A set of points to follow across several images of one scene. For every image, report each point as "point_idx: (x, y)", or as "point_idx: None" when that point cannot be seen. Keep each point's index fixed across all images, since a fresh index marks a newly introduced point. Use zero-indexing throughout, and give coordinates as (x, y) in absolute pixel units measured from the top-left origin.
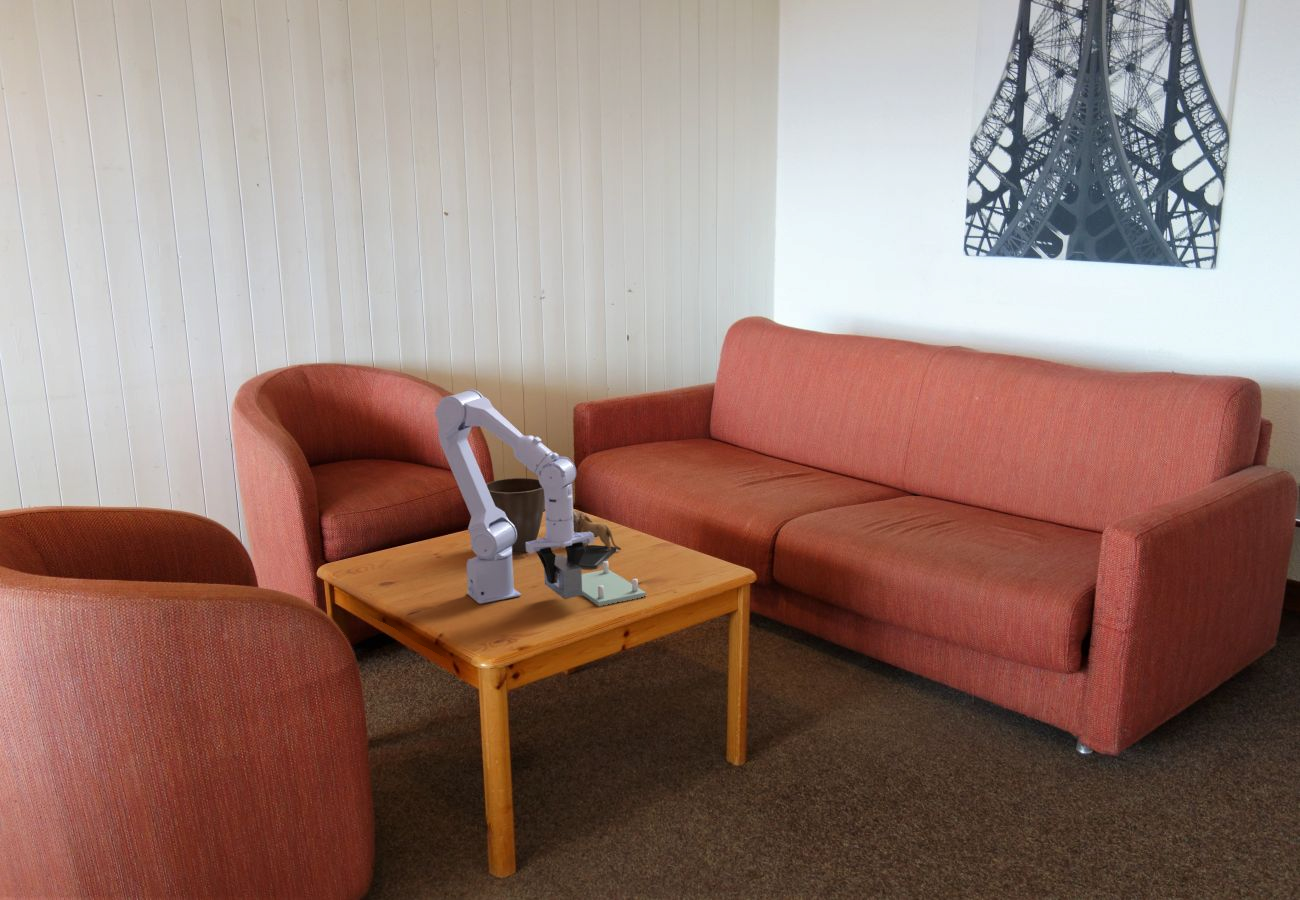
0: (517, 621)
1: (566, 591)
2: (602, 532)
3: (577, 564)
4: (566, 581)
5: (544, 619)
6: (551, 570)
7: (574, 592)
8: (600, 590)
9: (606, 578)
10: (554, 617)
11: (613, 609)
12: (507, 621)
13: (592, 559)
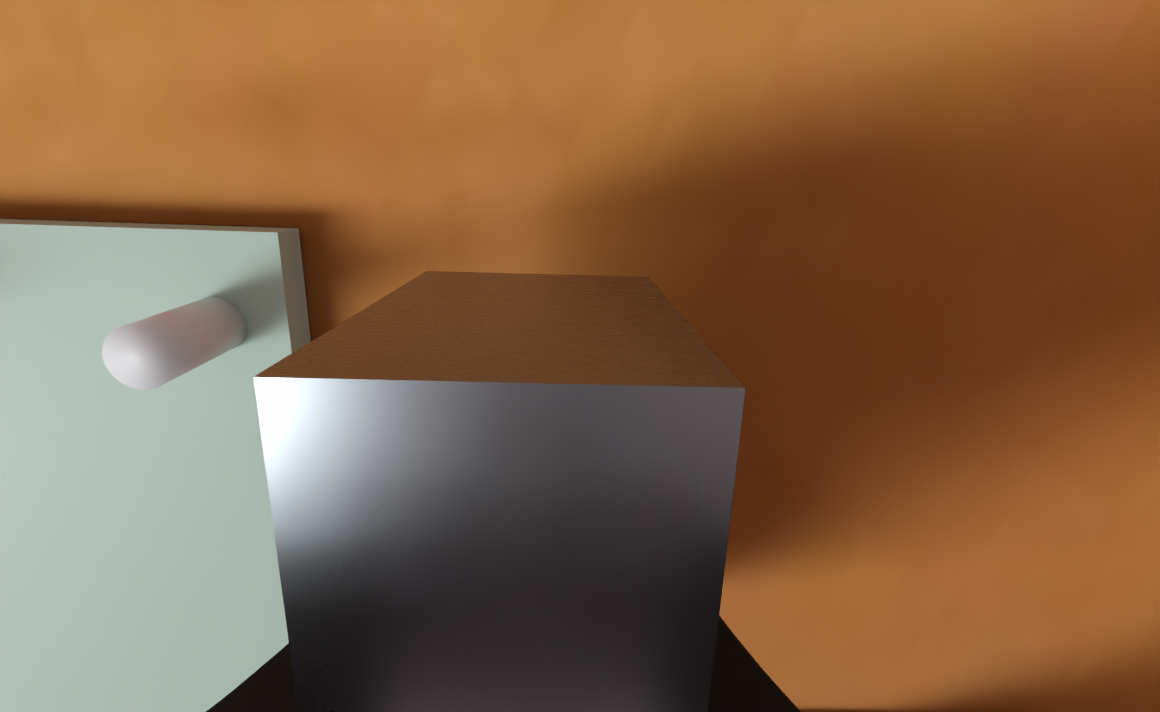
0: (1048, 297)
1: (628, 290)
2: None
3: (242, 700)
4: (637, 324)
5: (852, 212)
6: (754, 688)
7: (516, 284)
8: (176, 321)
9: (36, 693)
10: (758, 207)
11: (194, 79)
12: (1105, 341)
13: None
